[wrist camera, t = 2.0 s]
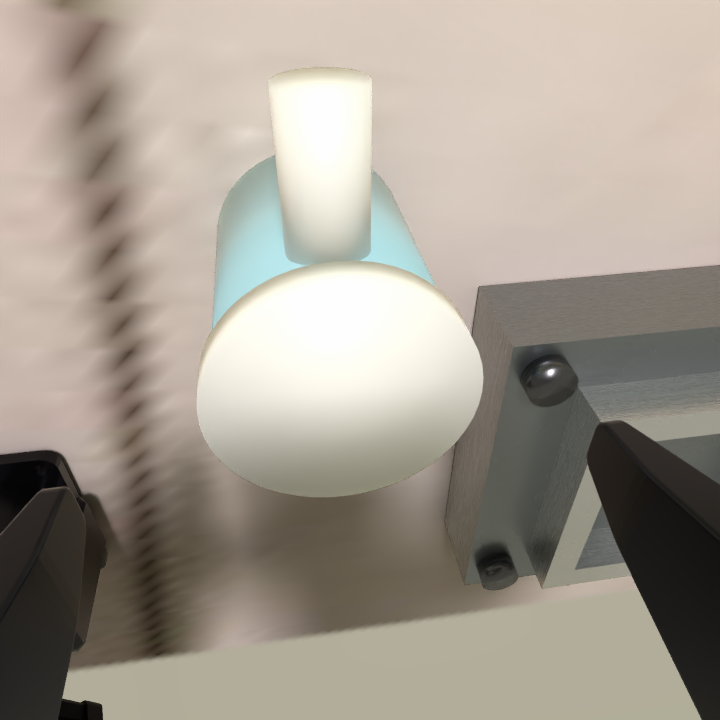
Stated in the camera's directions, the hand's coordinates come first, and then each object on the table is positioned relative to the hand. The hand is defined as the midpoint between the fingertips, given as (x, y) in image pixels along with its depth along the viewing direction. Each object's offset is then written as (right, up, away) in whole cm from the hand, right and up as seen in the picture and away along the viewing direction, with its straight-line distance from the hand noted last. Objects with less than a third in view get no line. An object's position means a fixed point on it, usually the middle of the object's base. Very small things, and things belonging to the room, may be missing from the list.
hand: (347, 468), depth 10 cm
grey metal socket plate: (+10, 0, +12) cm, 16 cm away
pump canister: (-1, +6, +5) cm, 8 cm away
